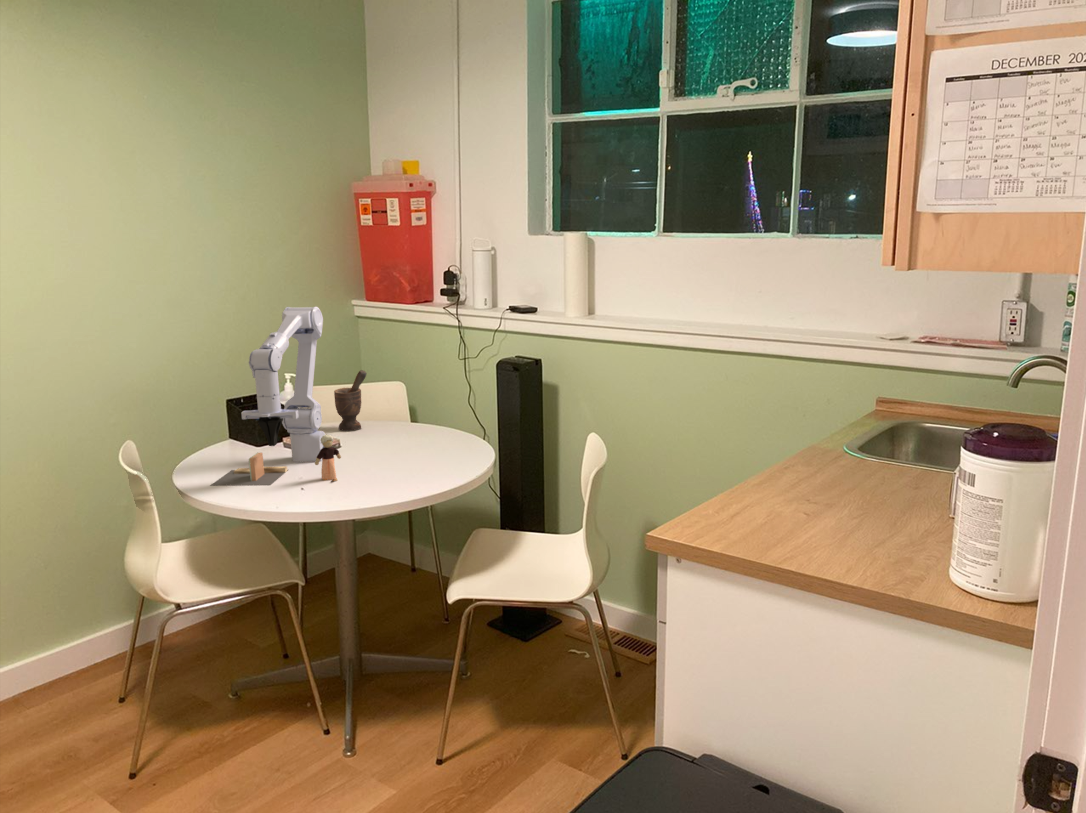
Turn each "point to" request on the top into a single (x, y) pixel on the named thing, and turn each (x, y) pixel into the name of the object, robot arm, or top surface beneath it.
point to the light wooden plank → (266, 470)
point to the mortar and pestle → (349, 404)
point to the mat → (246, 479)
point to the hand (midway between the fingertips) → (272, 445)
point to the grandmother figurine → (327, 458)
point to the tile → (256, 466)
